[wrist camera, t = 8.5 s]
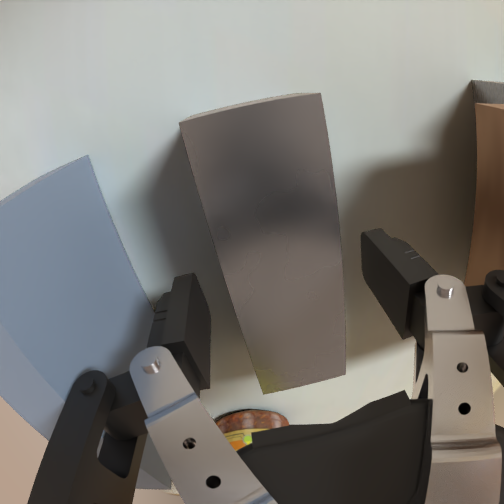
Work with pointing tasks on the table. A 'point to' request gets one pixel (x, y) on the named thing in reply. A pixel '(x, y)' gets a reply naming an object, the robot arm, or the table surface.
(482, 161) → the slab
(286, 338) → the bar loose
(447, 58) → the table surface
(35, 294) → the stop block
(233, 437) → the sauce bottle
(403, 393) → the robot arm
